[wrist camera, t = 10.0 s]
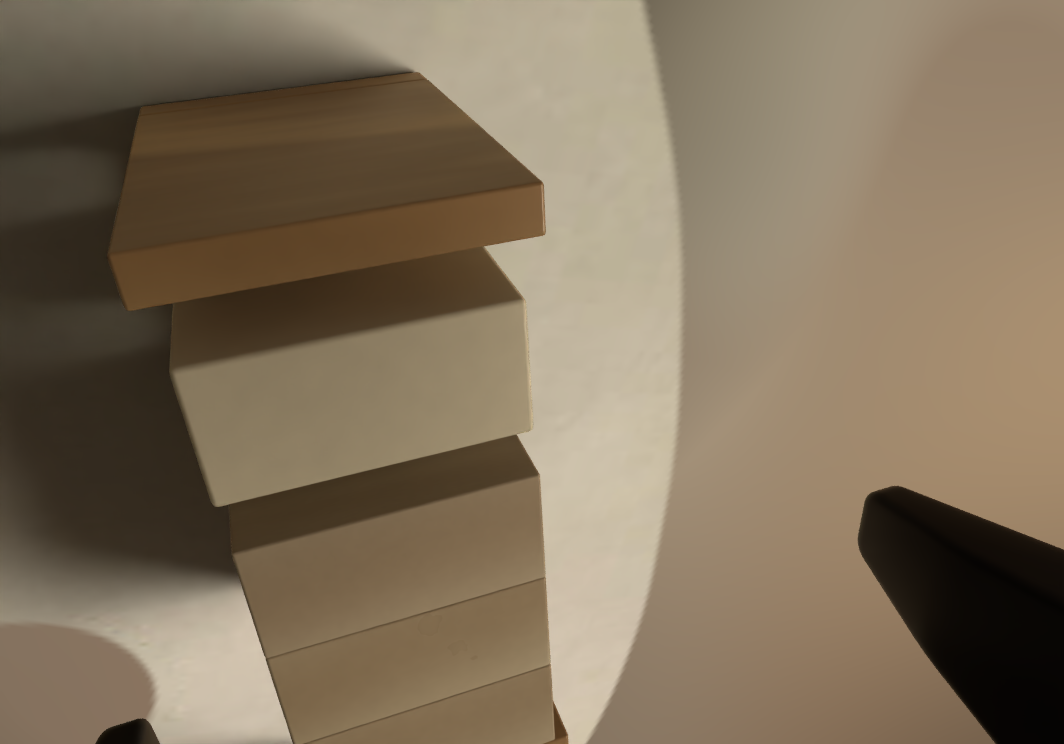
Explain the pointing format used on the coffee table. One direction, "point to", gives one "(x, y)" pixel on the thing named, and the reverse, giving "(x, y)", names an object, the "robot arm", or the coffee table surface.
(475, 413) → the cream book
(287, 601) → the brown rack
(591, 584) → the coffee table surface
